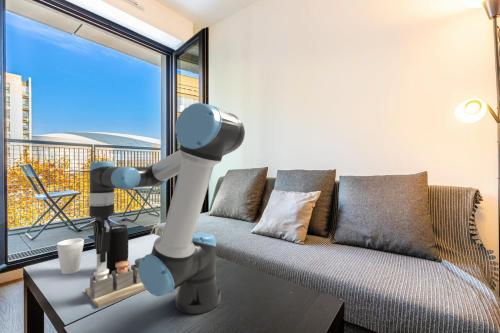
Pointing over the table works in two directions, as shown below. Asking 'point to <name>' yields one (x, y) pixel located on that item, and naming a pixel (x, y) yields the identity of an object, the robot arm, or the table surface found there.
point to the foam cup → (70, 255)
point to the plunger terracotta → (122, 267)
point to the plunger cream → (101, 275)
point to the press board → (115, 287)
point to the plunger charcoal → (137, 262)
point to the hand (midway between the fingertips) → (101, 270)
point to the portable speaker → (117, 247)
